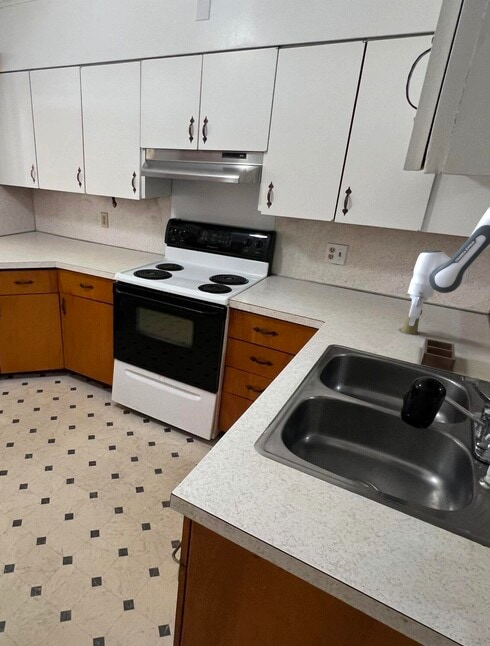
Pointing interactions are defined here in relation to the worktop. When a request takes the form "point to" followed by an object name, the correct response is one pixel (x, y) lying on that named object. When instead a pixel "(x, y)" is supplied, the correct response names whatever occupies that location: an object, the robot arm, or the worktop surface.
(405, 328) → the cork
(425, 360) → the rack
